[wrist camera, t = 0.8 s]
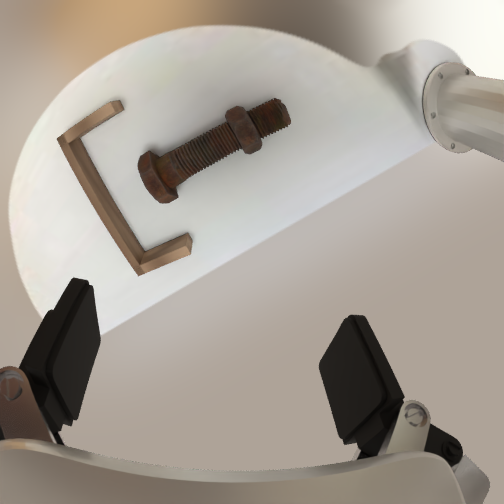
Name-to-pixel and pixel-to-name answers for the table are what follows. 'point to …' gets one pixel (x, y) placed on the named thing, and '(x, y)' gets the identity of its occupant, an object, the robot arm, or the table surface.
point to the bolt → (211, 148)
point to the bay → (105, 203)
